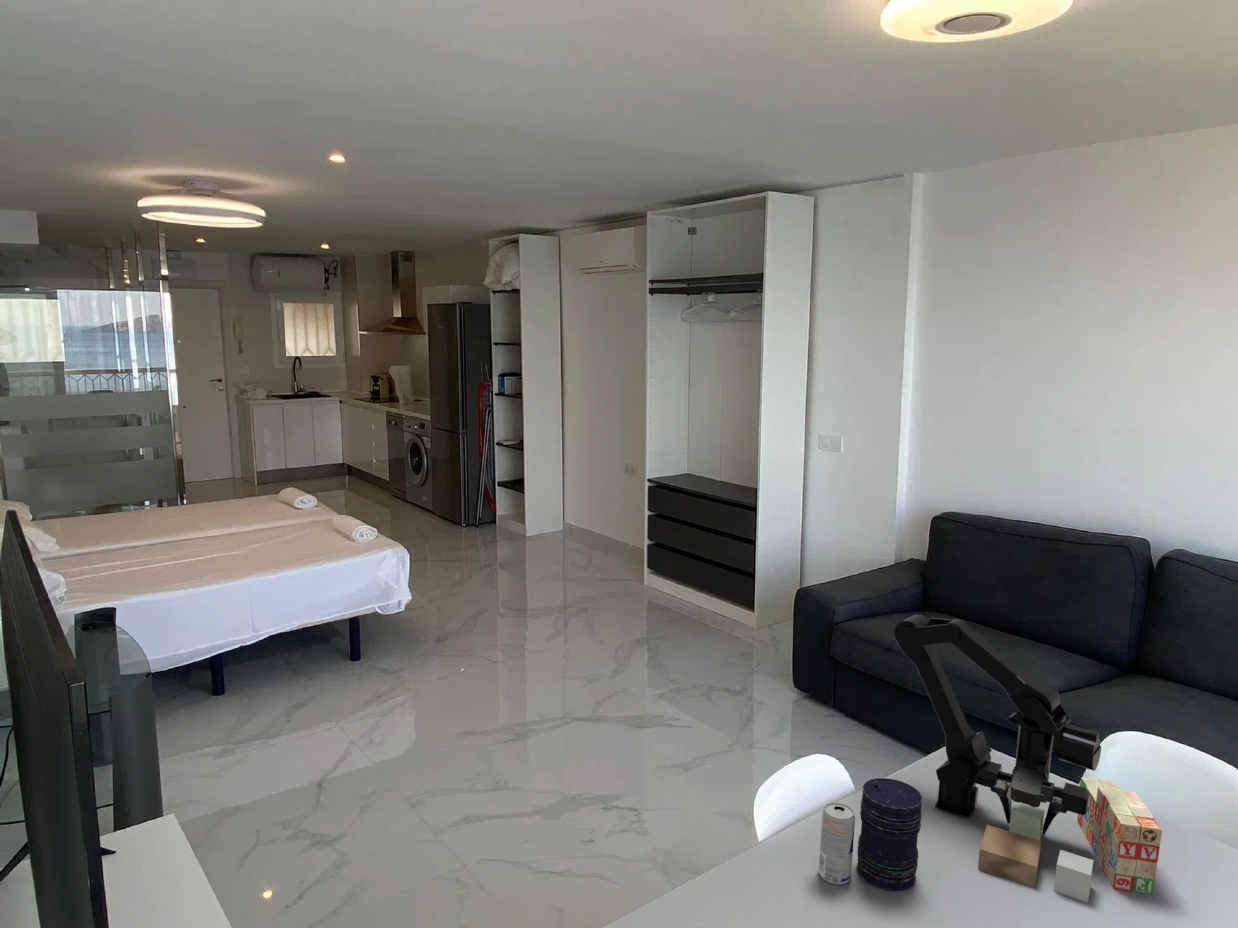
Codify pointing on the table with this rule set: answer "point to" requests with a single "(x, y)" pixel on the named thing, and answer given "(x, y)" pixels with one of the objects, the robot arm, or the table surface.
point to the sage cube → (1027, 820)
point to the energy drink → (836, 843)
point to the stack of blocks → (1121, 835)
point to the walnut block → (1010, 855)
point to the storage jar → (889, 834)
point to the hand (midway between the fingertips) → (1026, 827)
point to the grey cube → (1073, 875)
